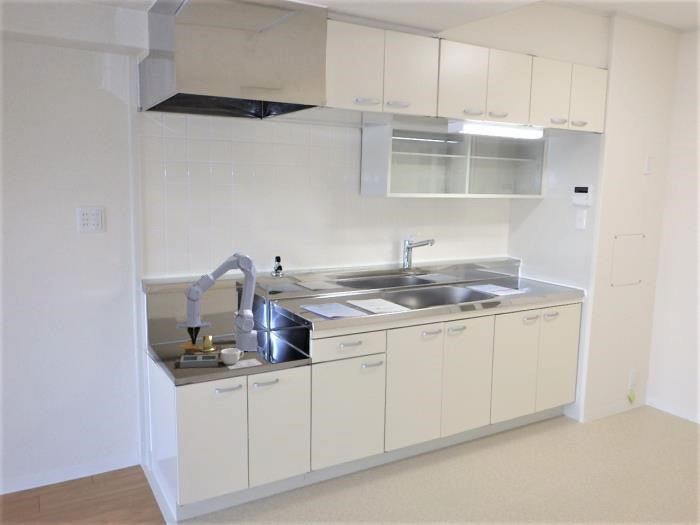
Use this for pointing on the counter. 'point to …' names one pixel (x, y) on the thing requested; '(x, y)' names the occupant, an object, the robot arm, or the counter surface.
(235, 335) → the syrup box
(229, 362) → the teacup
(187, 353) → the socket block
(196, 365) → the rack
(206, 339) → the brass peg
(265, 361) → the counter surface
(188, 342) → the latch bar
